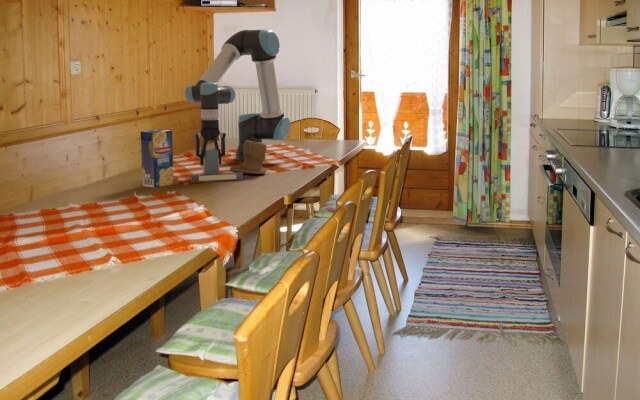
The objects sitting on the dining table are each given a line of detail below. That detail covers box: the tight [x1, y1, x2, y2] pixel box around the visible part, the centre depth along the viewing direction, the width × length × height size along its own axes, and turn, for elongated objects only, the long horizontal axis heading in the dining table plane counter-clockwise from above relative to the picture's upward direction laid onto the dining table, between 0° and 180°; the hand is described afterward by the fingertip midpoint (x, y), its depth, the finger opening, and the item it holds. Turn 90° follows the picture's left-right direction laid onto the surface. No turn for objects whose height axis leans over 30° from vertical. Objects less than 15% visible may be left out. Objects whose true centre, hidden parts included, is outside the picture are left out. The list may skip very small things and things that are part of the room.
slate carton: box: [202, 147, 220, 174], centre depth 336 cm, size 9×5×12 cm, turn 21°
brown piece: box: [229, 140, 267, 175], centre depth 345 cm, size 15×12×15 cm
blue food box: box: [140, 129, 175, 188], centre depth 314 cm, size 7×11×22 cm, turn 148°
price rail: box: [190, 172, 244, 184], centre depth 326 cm, size 2×22×3 cm, turn 111°
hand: (210, 172), depth 337 cm, fingers closed on slate carton, 5 cm apart
